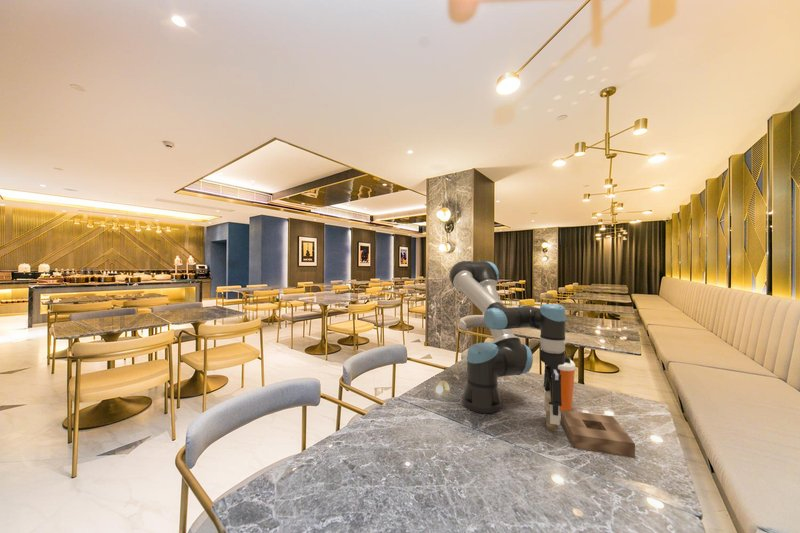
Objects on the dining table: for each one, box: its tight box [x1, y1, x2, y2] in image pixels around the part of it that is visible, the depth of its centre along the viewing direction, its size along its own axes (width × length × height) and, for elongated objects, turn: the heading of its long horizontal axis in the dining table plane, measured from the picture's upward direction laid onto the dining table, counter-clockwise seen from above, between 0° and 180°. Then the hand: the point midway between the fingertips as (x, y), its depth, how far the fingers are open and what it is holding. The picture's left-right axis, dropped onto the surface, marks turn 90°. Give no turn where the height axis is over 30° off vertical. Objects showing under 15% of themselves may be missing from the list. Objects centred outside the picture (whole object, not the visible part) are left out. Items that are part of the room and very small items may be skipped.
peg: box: [545, 391, 558, 432], centre depth 102 cm, size 4×4×12 cm
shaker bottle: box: [558, 354, 576, 411], centre depth 117 cm, size 9×9×20 cm
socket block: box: [560, 410, 636, 458], centre depth 97 cm, size 16×16×4 cm
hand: (551, 416), depth 102 cm, fingers open, 8 cm apart
